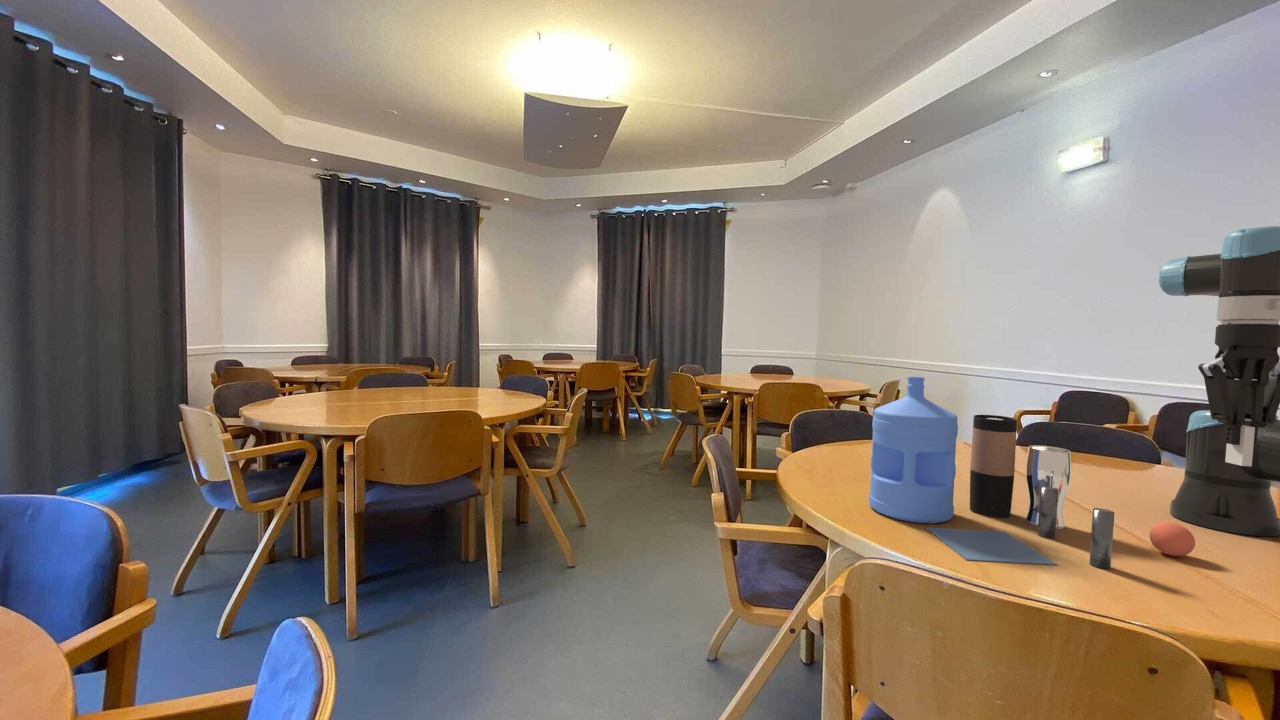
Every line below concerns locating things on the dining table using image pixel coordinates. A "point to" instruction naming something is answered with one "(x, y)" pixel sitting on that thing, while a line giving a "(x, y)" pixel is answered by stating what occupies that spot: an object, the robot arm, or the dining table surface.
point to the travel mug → (992, 465)
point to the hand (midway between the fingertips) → (1238, 463)
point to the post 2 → (1101, 538)
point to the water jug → (913, 458)
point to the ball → (1172, 539)
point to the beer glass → (1047, 478)
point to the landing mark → (989, 546)
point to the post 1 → (1047, 512)
